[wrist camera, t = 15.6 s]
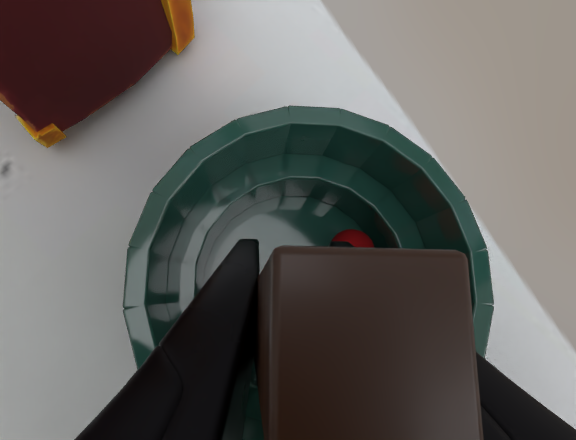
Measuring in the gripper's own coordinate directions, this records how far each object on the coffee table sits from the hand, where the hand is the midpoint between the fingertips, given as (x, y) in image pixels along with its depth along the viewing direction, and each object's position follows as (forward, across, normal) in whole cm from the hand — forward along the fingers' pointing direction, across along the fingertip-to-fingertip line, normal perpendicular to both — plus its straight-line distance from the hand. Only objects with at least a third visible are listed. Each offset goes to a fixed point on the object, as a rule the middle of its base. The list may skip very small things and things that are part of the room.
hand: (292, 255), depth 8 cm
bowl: (+5, -1, +6) cm, 7 cm away
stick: (+4, 0, +6) cm, 7 cm away
